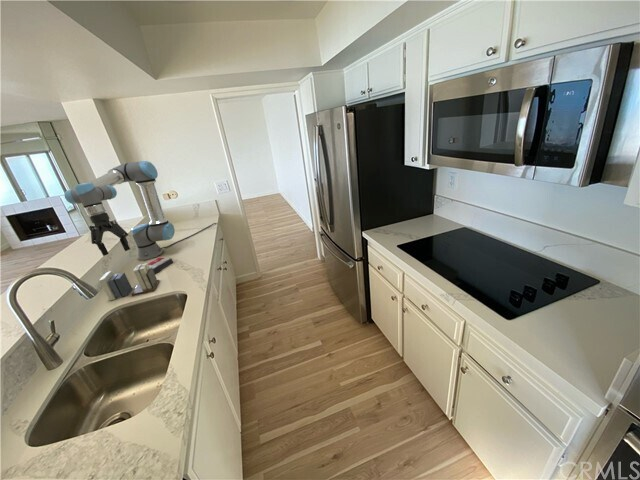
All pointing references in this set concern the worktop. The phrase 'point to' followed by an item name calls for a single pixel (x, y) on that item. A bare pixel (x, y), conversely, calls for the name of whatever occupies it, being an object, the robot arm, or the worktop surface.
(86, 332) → the worktop surface
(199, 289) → the worktop surface
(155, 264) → the red and white box
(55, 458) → the worktop surface
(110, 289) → the white book
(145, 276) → the bookstand
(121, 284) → the grey books
